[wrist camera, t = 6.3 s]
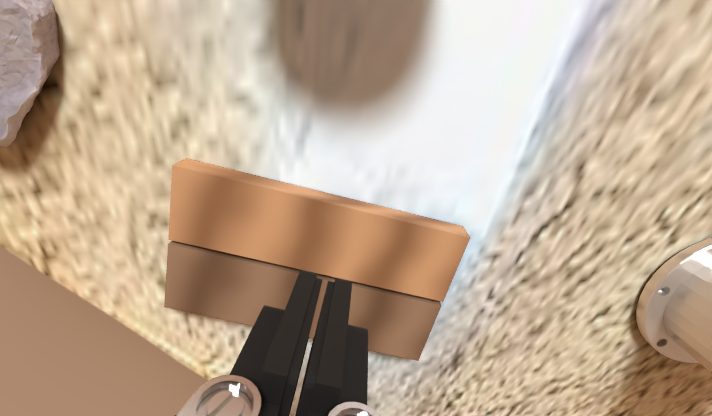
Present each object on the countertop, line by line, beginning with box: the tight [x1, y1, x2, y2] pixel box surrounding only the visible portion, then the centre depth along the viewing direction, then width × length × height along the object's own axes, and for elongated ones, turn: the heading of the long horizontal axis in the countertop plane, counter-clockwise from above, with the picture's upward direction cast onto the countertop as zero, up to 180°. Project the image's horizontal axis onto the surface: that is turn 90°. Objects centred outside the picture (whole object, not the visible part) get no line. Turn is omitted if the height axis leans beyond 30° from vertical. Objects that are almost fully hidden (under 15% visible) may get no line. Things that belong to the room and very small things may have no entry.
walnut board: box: [164, 241, 441, 361], centre depth 29 cm, size 22×6×2 cm, turn 76°
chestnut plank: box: [169, 158, 470, 302], centre depth 26 cm, size 22×6×2 cm, turn 76°
